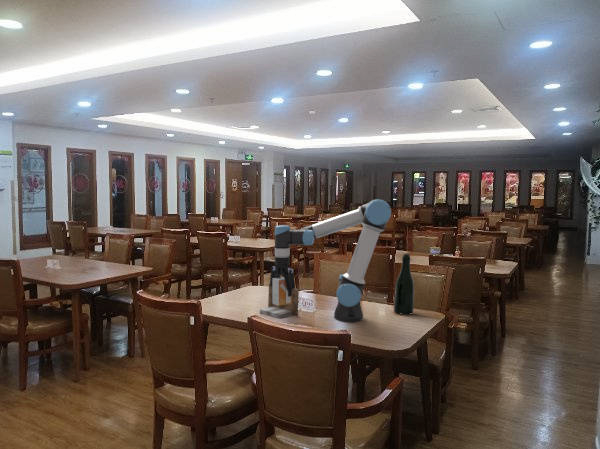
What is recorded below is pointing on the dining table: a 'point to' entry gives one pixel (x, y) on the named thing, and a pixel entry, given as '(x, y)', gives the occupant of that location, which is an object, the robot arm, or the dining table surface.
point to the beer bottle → (404, 288)
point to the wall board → (282, 306)
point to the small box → (279, 291)
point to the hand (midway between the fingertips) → (282, 301)
